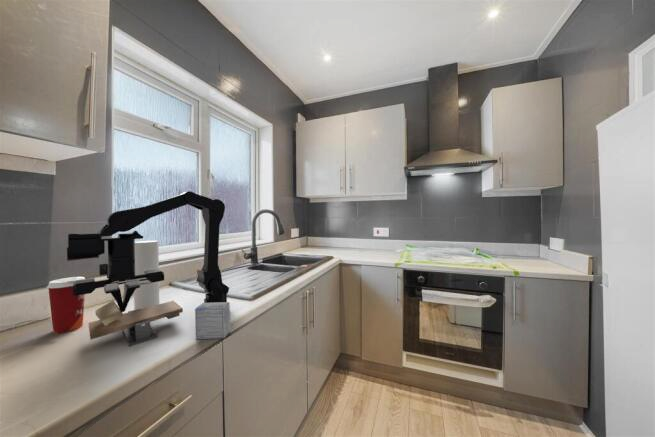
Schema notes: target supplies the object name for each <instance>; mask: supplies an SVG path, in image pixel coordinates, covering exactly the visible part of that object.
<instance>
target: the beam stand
mask: <svg viewBox="0 0 655 437" xmlns="http://www.w3.org/2000/svg"><path fill="white" fill-rule="evenodd" d="M137 310H139V309H137ZM132 311H136V310H134V309H133V310H129V311H128V312H132ZM128 312H127V313H128ZM122 333H123V335H124V337H125V340H126V343H127V345H128V346H129V347H133V346H136V345H140V344H142V343H146V342H148V341H151V340H154V339H157V338H158V334H157V331H155V329H154V328H153V326H152V325H151V322H150V321H149V320H148V321H144V322H140V323H136V324H135V327H131V328H128V329H125V330H122Z"/></svg>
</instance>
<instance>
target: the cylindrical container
mask: <svg viewBox="0 0 655 437" xmlns="http://www.w3.org/2000/svg"><path fill="white" fill-rule="evenodd" d="M159 254H160V253H159V240H144V241H143V240H141V241H140V240H139V241H135V275H141V274H144V273H145V271H149V270H156V269H159V270H160V267H159V266H160V264H159V263H160V261H159V260H160V258H159V256H160V255H159ZM139 285H140V288H136V289H135V291H134V293H133V306H134V308H133V310H137V309H143V308H147V307H151V306H155V305H158V304H160V281H159V282H153V283H152V282H150V281H149V280H144V281H140V283H139Z"/></svg>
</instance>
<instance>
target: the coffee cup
mask: <svg viewBox="0 0 655 437" xmlns="http://www.w3.org/2000/svg"><path fill="white" fill-rule="evenodd" d="M85 279H86V277H84V276H70V277H64V278H58V279H54V280H50V281H49V282H48V285H47V286H46V289H48V296H49V306H50V315H51V322H52V330H53V331H52V332H53V333H54V334H63V333H68V332H72V331H75V330H78V329H80V328H82V327H83V324H84V315H85V314H84V312H85V297H86V294H83V295H78V296H73V283H74V282H75V281H78V280H85Z"/></svg>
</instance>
